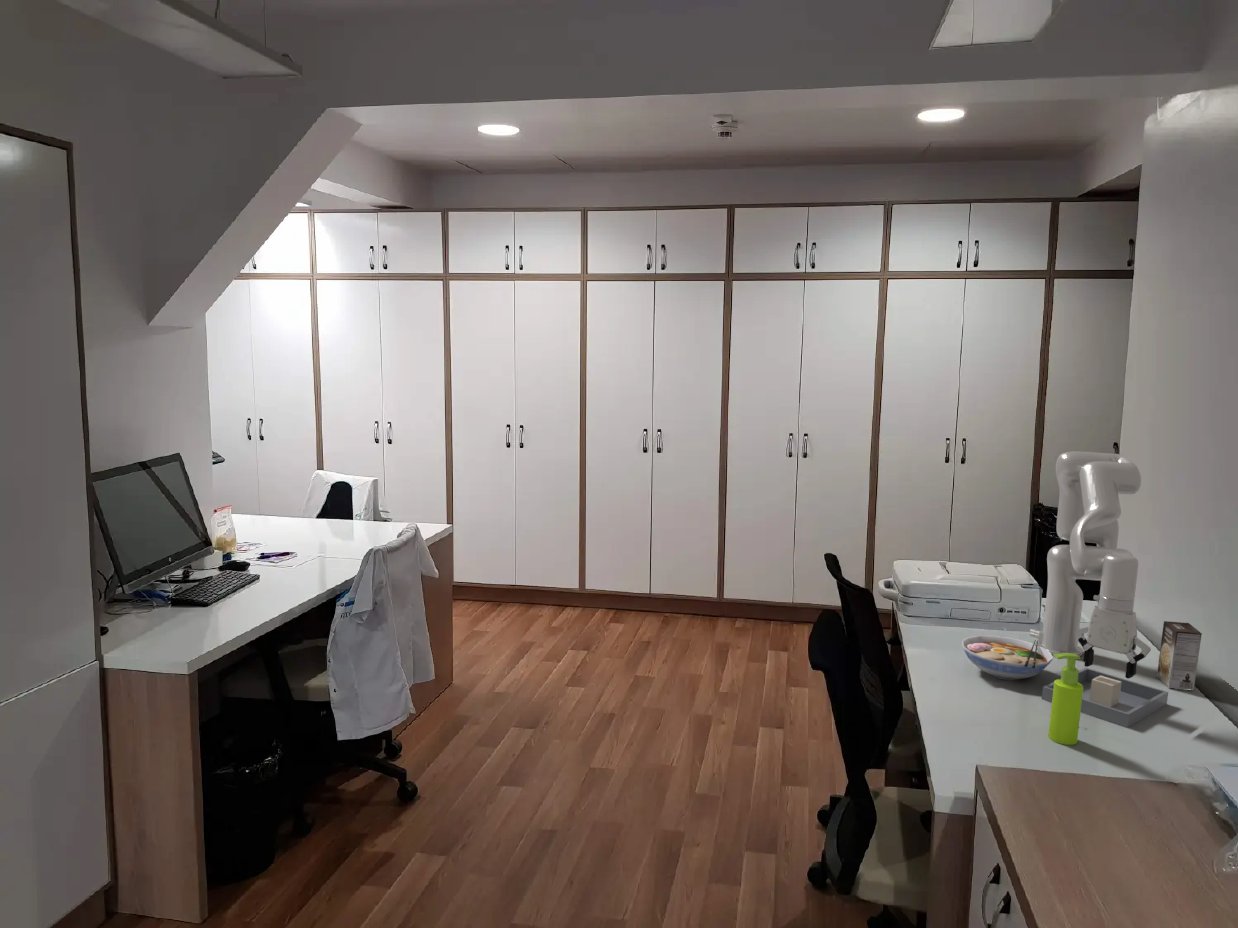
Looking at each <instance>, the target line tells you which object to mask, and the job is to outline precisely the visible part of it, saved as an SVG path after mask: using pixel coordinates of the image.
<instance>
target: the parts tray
mask: <svg viewBox="0 0 1238 928" xmlns="http://www.w3.org/2000/svg"><path fill="white" fill-rule="evenodd" d="M1078 670H1079V669H1078ZM1100 675H1101V676H1104V677H1108V678H1111V679H1114V680H1118V681H1121V691H1120V699H1119V703H1118V704H1116V705H1114V706H1112V707H1108V706H1105V705H1102V704H1099V703H1096V702H1092V701H1089V700H1090V692H1091V683H1092V679H1094V678H1096V677H1098V676H1100ZM1078 683H1080V684H1082V685H1083V695H1082V703H1081V712H1080V714H1085V715H1088V716H1091V717H1094V718H1096V719H1100V720H1103V721H1106V722H1108V723H1111V724H1114V725H1117V726H1121V727H1123V728H1126V729H1127V728H1129V727H1130V726H1132V725H1135V724H1136V723H1137V722H1139V721H1141V720H1142V719H1144V718H1146V717H1148V716H1149V715H1151V714H1153V713H1155V712H1157V711H1158V710H1160V709H1161V708H1163V707H1165V706H1167V705H1168V698H1169V691H1167V690H1163V689H1159V688H1156V687H1152V686H1149V685H1145V684H1142V683H1141V682H1140V683H1139V682H1135V681H1132V680H1129V679H1127V678H1126V679H1125V678H1123V677H1119V676H1116V675H1112V674H1109V673H1106V672H1102V671H1099V670H1095V669H1092V668H1090V667H1085V668H1081V669H1080V670H1079V674H1078ZM1053 688H1054V681H1052V682H1051V683H1048V684H1046V685H1043V686H1042V690H1041V693H1042V694H1041V700H1042V701H1043V700H1044V701H1047V702H1049V703H1052V697H1053Z"/></svg>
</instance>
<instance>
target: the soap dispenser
mask: <svg viewBox="0 0 1238 928" xmlns="http://www.w3.org/2000/svg"><path fill="white" fill-rule="evenodd" d="M1052 656H1053V658H1056V659H1057V660H1065V659H1066V665H1065V666H1062V667H1061V676H1060V678H1057V679H1055V680H1054V681H1053V682H1054V688H1053V697H1052V702H1051V707H1050V708H1051V709H1050V718H1049V725H1048V726H1049V727H1048V735H1047V737H1048V739H1050V740H1051V741H1053V742H1055V743H1056V744H1057V743H1058V744H1061V745H1068V746H1071V745H1073V746H1074V745H1076V744H1077V743H1078V736H1079V729H1080V718H1081V703H1082V695H1083V685H1082V684H1080V683H1078V674H1079V669H1078V668H1076V661H1077V660H1081V656H1078V655H1077V654H1073V653H1058V654H1054V655H1052Z"/></svg>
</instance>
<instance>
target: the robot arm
mask: <svg viewBox="0 0 1238 928" xmlns="http://www.w3.org/2000/svg"><path fill="white" fill-rule="evenodd" d="M1141 475H1142V474H1141V471H1140V470H1139V468H1138V465H1136V464H1135V463H1134V462H1133V461H1132V460H1130V459H1129V458H1128V457H1127V456H1125V455H1123V454H1120V453H1107V452H1095V451H1078V450H1077V451H1067V452H1062V453H1061V454H1059V455H1058V457H1057V459H1056V462H1055V477H1056V480H1057V484H1058V490H1059V499H1058V506H1057V507H1058V508H1057V517H1056V529H1055V530H1056V534H1057V536H1058V537H1059V539H1062V540H1064V541H1068V542H1069V544H1058V545H1055V546H1052V547H1051V548H1050V549H1049V550H1048V552H1047V555H1046V556H1047V557H1046V562H1047V563H1046V564H1047V588H1046V589H1047V590H1046V599H1045V607H1044V616H1043V617H1044V618H1043V626H1042V630H1038V629H1035V628H1030V629H1029V637H1031V638H1036V639H1037V640H1038V644H1037V641H1035V645H1038V646H1041V647H1043V648H1045V649H1046V650H1048V651H1049V652H1051V654H1052V656H1053V655H1054V654H1058V653H1073V654H1077V655H1078V656H1080V657H1081V656H1082V655H1083V662H1084V667H1085V668H1089V667H1091V666H1093V664H1094V663H1093V662H1094V657H1095V656H1094V655H1095V649H1094V647H1095V648H1097V649H1101V650H1106V651H1109V652H1113V653H1116V654H1122V655H1125V656H1126V658H1127V659H1128V662H1127V663H1126V665H1125V666H1126V667H1125V668H1126V669H1125V676H1124V677H1125V678H1126V679H1127V680H1129V679H1132V678H1134V676H1135V675H1136V673H1137V668H1138V667H1137V666H1138V662H1140V661H1142V660H1143V659H1144V658H1146V657H1147V655H1148V654H1149V653H1150V652H1151V650H1152V647H1150V646H1149V645H1148V644H1146V643H1145V642H1144V641H1142V640H1141V639H1140V638H1139V637H1138V621H1137V614H1136V611H1135V612H1134V606H1135V597H1136V589H1137V588H1136V587H1137V581H1138V580H1137V579H1138V571H1139V560H1138V559H1137V558H1136V557H1134V555H1133V554H1132V552H1131V551H1130V550H1128V549H1124V548H1118V541H1119V528H1120V527H1119V521H1118V519H1119V518H1120V517H1121V516H1122V509H1121V503H1120V498H1119V497H1120V496H1119V495H1134V494H1137V493H1138V492H1139V491H1140V489H1141V485H1142V476H1141ZM1086 543H1092V544H1096V546H1093V545H1086ZM1076 580H1087V581H1088V580H1089V581H1099V582H1100V589H1099V594H1097V595H1096V594H1094V595H1093V601H1096V602H1097V605H1095V606H1093V609H1092V613H1091V617H1090V621H1089V625H1088V626H1087V627H1081V628H1080V626H1081V621H1082V620H1081V619H1082V609H1083V602H1084V600H1083V599H1084V593H1083V591H1082V589H1081V587H1080V586H1079V585H1078V583H1076ZM1084 634H1087V636H1086V638H1085V635H1084ZM1078 644H1080V646H1081V647H1082V648H1081V647H1080V646H1079V645H1078ZM1137 647H1138V648H1140V649H1141V651H1140V652H1139V653H1136V648H1137Z"/></svg>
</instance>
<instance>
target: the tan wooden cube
mask: <svg viewBox="0 0 1238 928" xmlns="http://www.w3.org/2000/svg"><path fill="white" fill-rule="evenodd" d="M1120 691H1121V681H1118V680H1114V679H1111V678H1108V677H1104V676H1101V675H1100V676H1098V677H1096V678H1094V679H1092V683H1091V692H1090V700H1089V701H1092V702H1096V703H1099V704H1102V705H1105V706H1108V707H1112V706H1114V705H1116V704H1118V703H1119V699H1120Z"/></svg>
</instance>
